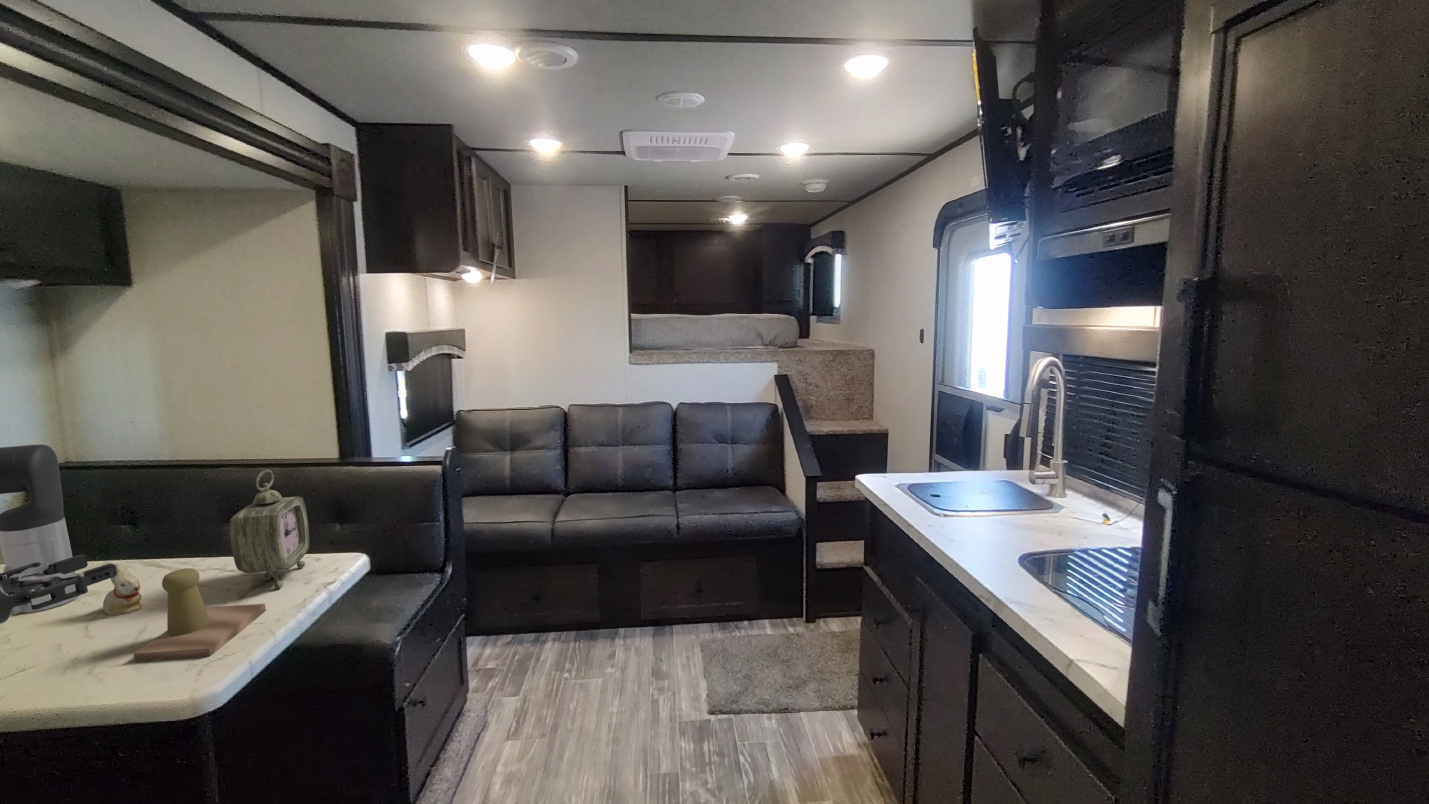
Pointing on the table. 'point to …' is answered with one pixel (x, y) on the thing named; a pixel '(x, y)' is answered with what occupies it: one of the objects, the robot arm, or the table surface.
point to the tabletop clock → (270, 533)
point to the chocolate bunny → (123, 593)
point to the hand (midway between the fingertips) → (100, 564)
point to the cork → (184, 602)
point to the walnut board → (203, 634)
